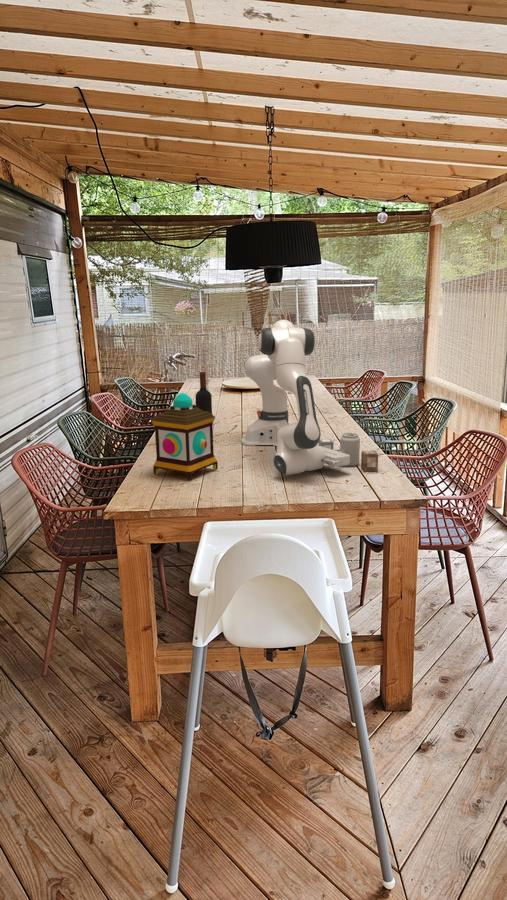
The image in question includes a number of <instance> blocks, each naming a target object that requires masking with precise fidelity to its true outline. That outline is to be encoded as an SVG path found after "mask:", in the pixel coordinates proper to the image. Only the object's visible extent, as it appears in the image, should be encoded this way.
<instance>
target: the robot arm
mask: <svg viewBox="0 0 507 900" xmlns="http://www.w3.org/2000/svg"><path fill="white" fill-rule="evenodd" d="M258 334H259V335H258V337H257V346H258V349H259V352H260V353H262V354H257V355H253V356H249V357H248V359H247V360H246V362H245V373H246V375H247V377H249V378H250V380H252V381H254V383H256V385H257V387H258V388H259V390H260V394H261V402H262V404H261V405H262V409H261V410H260V409H257V410H256V414H257V417H258V419H257V420H254V422H253V423H251V424H250V425H249V426H247V429H246V432H245V436H243V437H242V438H241V439H240V442H241V444H242V445H244V446H255V445H273V446H272V447H274V446H275V447H276V452H275V454H274V456H273V465H274V467H275V469H276V471H278V473H280V474H281V475H287V476H289V475H297V474H302V473H304V472H305V471H306V472H311V471H315V470H320V469H322V468H323V467H324V465H328V466H332V467H341V466H342V467H343V466H344V465H348V464H349V463H350V455H349V454H345V451H343V450H340V448H337V449H333V450H332V449H329V448H325V447H322V446H319V440H321V436H322V434H321V429H320V426H319V425H320V424H319V422H318V419H317V413H316V406H315V400H314V399H315V398H314V393H313V392H314V391H313V387H312V383H311V381H310V379H309V378H308V376H307V368H306V366H307V364H306V356H310V355H312V353H313V352H314V350H315V347H316V337H315V333H314V331H312V329H309V328H306V327H303V328H301V327H295V325H294V324H293V323H292V322H291V321H290V320H287V319H280V320H278V321H275V323H274V324H273V326H272V327H271V326H270V327H265V328H262V329H261V330H260V331H259V333H258ZM274 380H275V381H276V382H277V385H278V386H277V385H275V384H274ZM287 392H290V393H292V394H293V395H294V396H295V399H296V400H295V401H296V405H297V413H298V419H297V421H296V422H294V423H289V410H288V394H287ZM288 423H289V424H288Z"/></svg>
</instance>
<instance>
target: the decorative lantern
mask: <svg viewBox="0 0 507 900" xmlns="http://www.w3.org/2000/svg"><path fill="white" fill-rule="evenodd" d="M215 418H216V416H215V415H213V413H212V414H210V413H209V412H207V411H203V410H200V408H198V407H196V404H193V399H192V397H191V396H189V395H188V394H187V393H185V392H181V393H179V394H177V395H176V396H175V397H174V399H173V405H171V406H169V408H168V409H166V411H164V412H162V413H158V414H157V415H156V416H155V417H153V418H152V419H151V423H152V425H153V427H154V433H155V435H154V436H155V448H156V449H155V451H156V452H155V453H156V459H155V462H154V463H153V467H152V469H153V474H154V475H155V476H157V475H158V474H159V469H160V470H164V471H165V470H166V471H170V472H177V473H181V474H185V475H186V476H187V480H188V481H189V482H191V481H192V476H193V474H194V473H195V472H198V471H202V470H204V469H205V468H208V467H210V466H212V468H213V471H217V470H218V467H219V466H218V465H219V464H218V460H217V457H216V456H215V454H214V432H213V431H214V430H213V429H214V428H213V421H214V419H215Z"/></svg>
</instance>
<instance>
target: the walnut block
mask: <svg viewBox="0 0 507 900" xmlns="http://www.w3.org/2000/svg"><path fill="white" fill-rule="evenodd" d="M360 452H361V458H360V459H361V461H360V463H361V464H360V470H361V469H362V470H363V471H362V470H361V471H362V472H363V473H365V472H376V473H379V453H378V452H377V451H375V450H361V451H360ZM365 474H366V473H365Z"/></svg>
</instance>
